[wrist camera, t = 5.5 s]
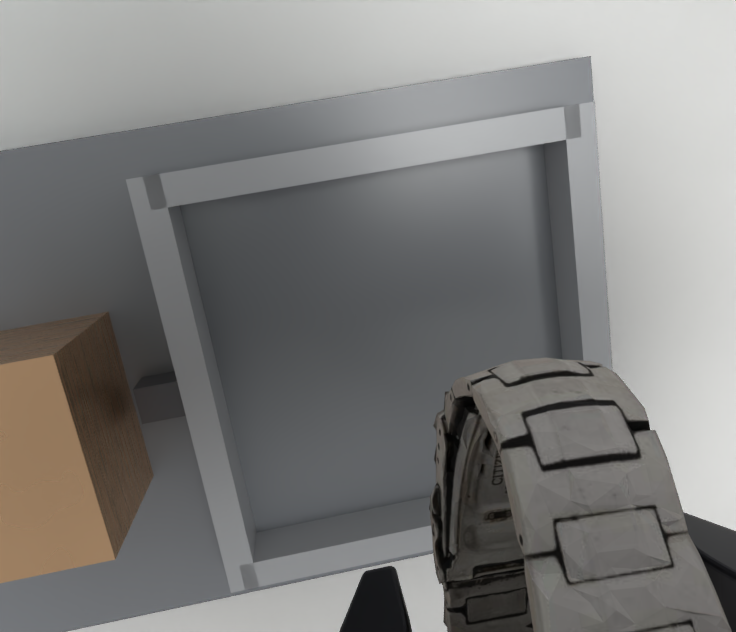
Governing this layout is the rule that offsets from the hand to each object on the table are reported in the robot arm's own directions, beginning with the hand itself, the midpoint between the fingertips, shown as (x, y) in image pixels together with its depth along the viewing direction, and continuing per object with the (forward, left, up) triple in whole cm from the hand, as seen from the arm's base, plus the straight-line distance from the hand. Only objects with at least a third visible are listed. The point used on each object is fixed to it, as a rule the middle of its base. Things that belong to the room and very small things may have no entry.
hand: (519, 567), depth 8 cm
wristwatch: (0, 0, -1) cm, 1 cm away
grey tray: (0, +4, -11) cm, 11 cm away
